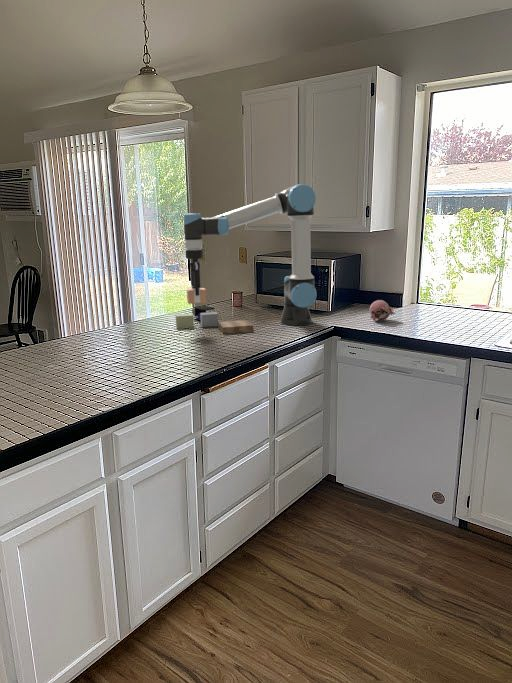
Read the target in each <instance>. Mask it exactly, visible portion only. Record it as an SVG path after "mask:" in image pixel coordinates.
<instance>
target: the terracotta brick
mask: <svg viewBox="0 0 512 683" xmlns="http://www.w3.org/2000/svg"><path fill="white" fill-rule="evenodd" d="M186 299H187V300H186V301H187V304H188V305H192V304H195V303H194V289H192V288H186ZM200 301H201V302H200V303H199V304H203V303H207V289H206V288H205V287H200Z"/></svg>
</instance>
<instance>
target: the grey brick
mask: <svg viewBox="0 0 512 683" xmlns="http://www.w3.org/2000/svg"><path fill="white" fill-rule="evenodd" d="M207 312H208V311H207ZM207 312H206V313H200V319H199V320H200V326H201V327H202V328H206V327H218V322H219V313H218V312H216V311H212V312H208V313H207Z"/></svg>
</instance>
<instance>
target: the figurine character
mask: <svg viewBox="0 0 512 683" xmlns="http://www.w3.org/2000/svg"><path fill="white" fill-rule="evenodd" d="M212 310H215V307H212V306H208V305H201V306H195V307H194V308H192V309H191V312H192V313H191V314H193V316H194V317H195V318H196V320H200V313H208V311H212Z"/></svg>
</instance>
